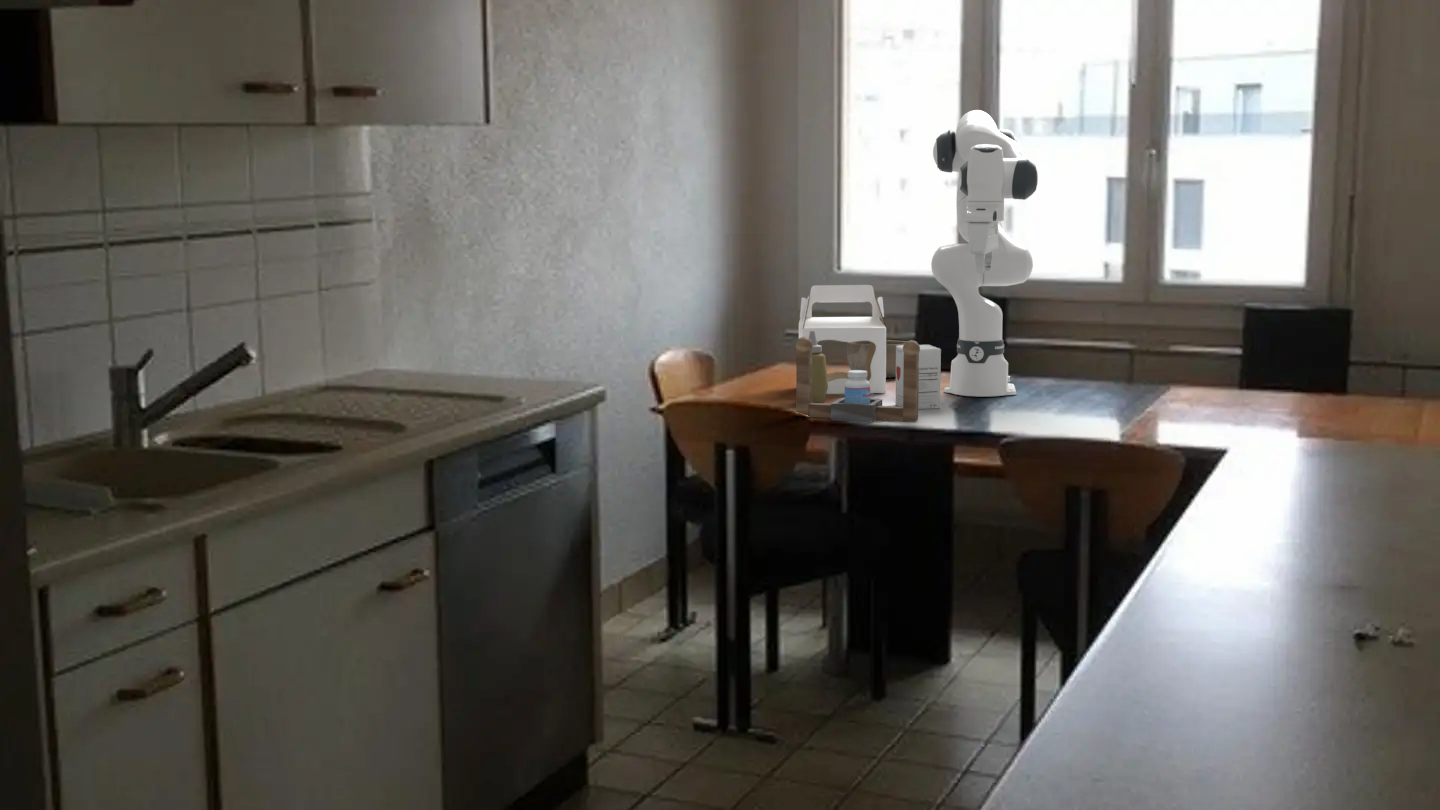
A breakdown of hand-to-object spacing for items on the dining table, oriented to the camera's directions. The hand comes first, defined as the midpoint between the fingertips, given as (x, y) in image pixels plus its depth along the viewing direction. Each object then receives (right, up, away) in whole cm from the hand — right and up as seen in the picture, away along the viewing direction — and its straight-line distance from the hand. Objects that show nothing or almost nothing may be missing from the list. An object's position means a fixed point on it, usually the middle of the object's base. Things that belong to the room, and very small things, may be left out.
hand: (983, 271), depth 405 cm
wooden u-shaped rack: (-30, -35, -1) cm, 46 cm away
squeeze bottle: (-40, -31, +25) cm, 56 cm away
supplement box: (-14, -32, +16) cm, 39 cm away
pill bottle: (-30, -35, -1) cm, 46 cm away
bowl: (-19, -24, +71) cm, 77 cm away
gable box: (-31, -28, +45) cm, 61 cm away
